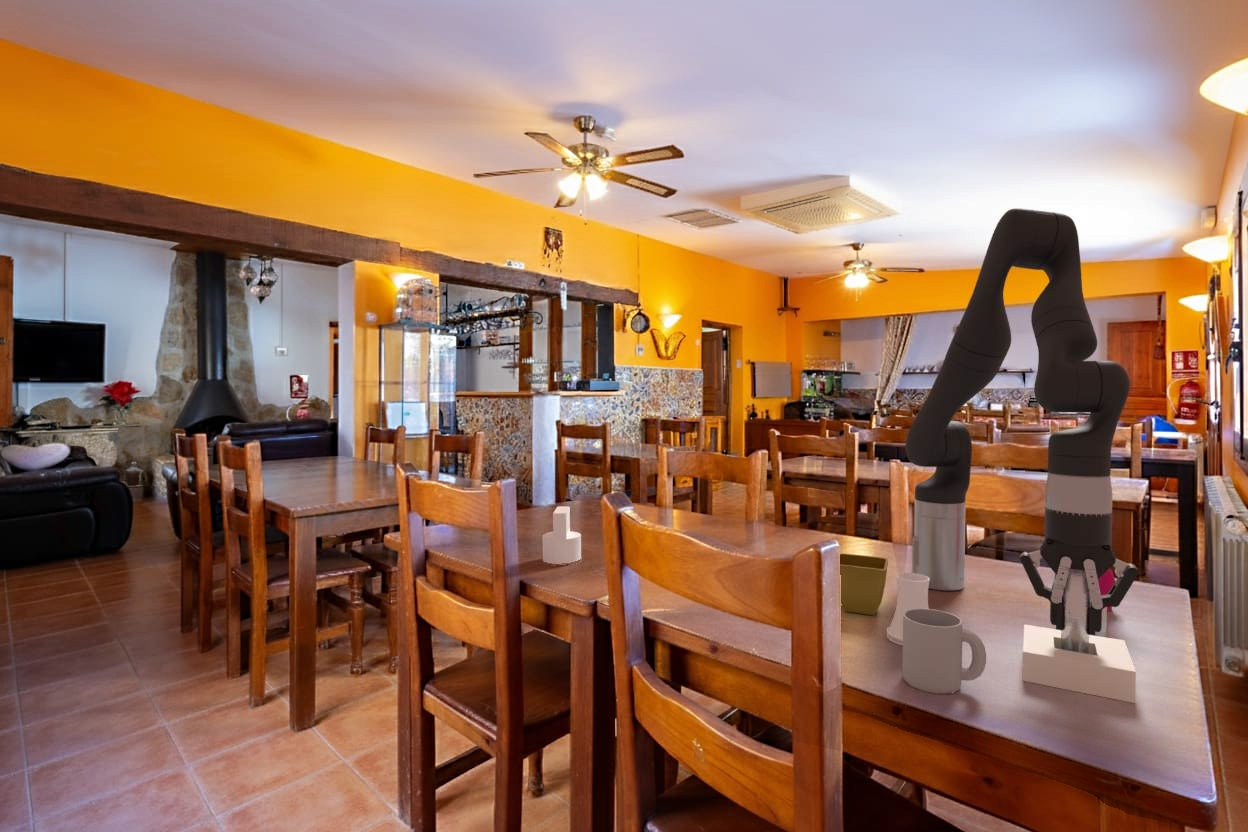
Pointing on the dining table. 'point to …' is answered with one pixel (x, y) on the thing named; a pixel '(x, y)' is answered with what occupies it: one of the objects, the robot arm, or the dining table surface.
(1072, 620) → the tall pin
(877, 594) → the flower pot
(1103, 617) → the short pin
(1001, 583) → the dining table surface
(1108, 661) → the socket block
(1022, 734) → the dining table surface
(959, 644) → the cup
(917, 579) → the vase
